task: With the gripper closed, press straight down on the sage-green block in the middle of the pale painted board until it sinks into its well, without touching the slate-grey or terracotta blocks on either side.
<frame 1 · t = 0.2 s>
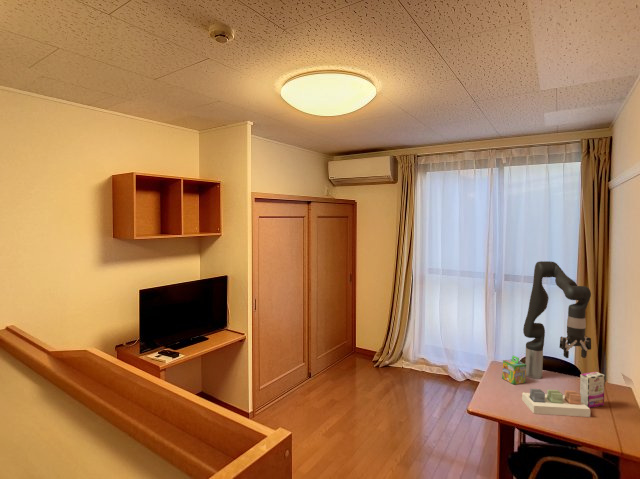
hand: (574, 357, 181), 28 cm above the table, fingers open, 8 cm apart
slate block: (537, 396, 188), point 5 cm above the table, slide at 0.0 cm
candy bar box: (591, 405, 190), on the table
sage block: (554, 397, 187), point 5 cm above the table, slide at 0.0 cm
terracotta block: (572, 398, 186), point 5 cm above the table, slide at 0.0 cm
chalk box: (513, 381, 219), on the table
board: (554, 408, 187), on the table
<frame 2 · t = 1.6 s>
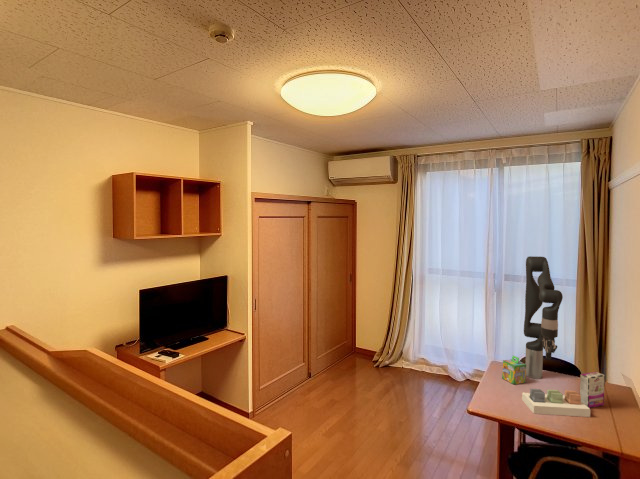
hand: (548, 358, 193), 23 cm above the table, fingers closed
nothing on the table moved.
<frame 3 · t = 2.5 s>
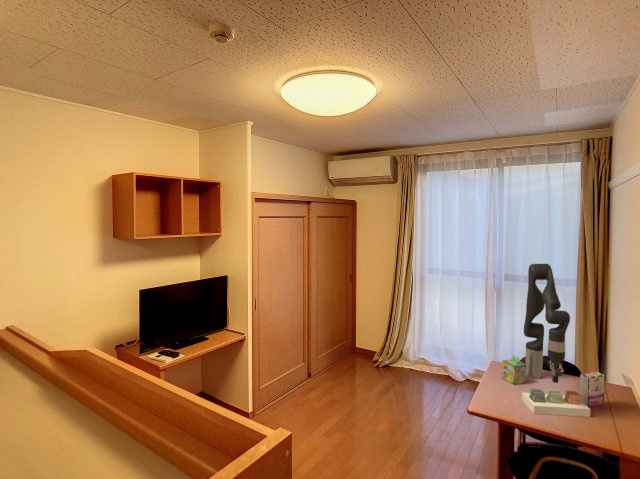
hand: (555, 382, 186), 14 cm above the table, fingers closed
nothing on the table moved.
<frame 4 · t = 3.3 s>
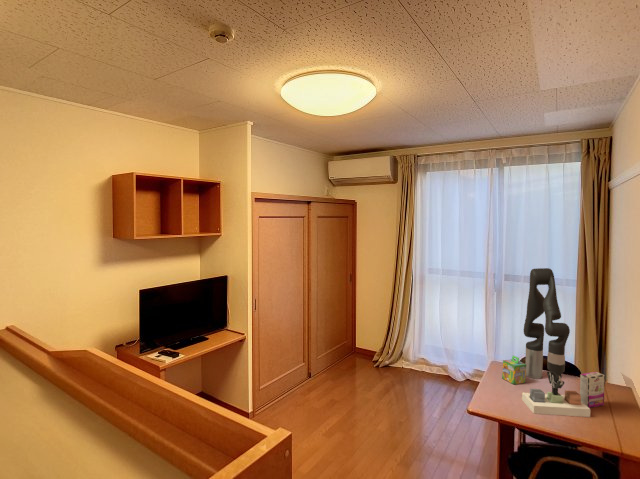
hand: (554, 394, 187), 7 cm above the table, fingers closed
sage block: (554, 399, 187), point 4 cm above the table, slide at 1.2 cm, touching gripper
everything else where it was.
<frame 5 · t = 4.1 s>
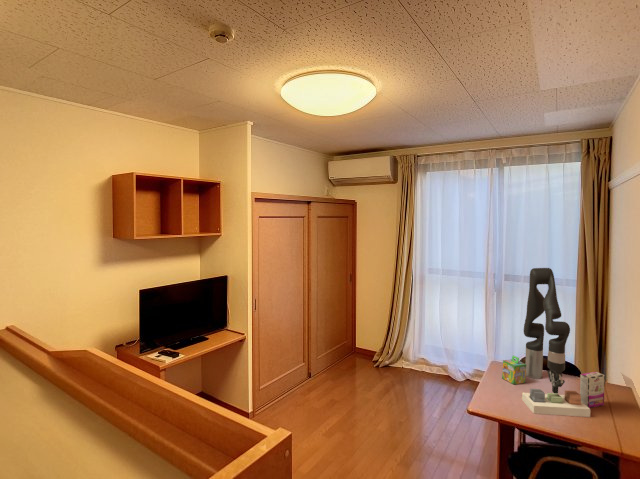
hand: (555, 392, 187), 8 cm above the table, fingers closed
sage block: (554, 401, 187), point 4 cm above the table, slide at 1.8 cm
everything else where it was.
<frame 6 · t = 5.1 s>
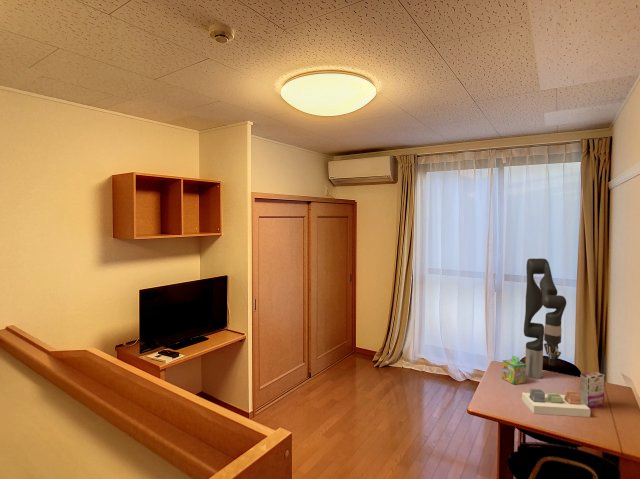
hand: (551, 364, 191), 21 cm above the table, fingers closed
nothing on the table moved.
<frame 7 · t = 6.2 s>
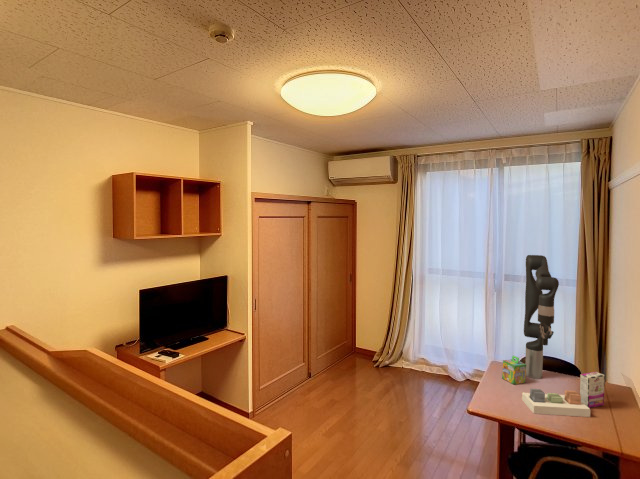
hand: (544, 344, 197), 29 cm above the table, fingers closed
nothing on the table moved.
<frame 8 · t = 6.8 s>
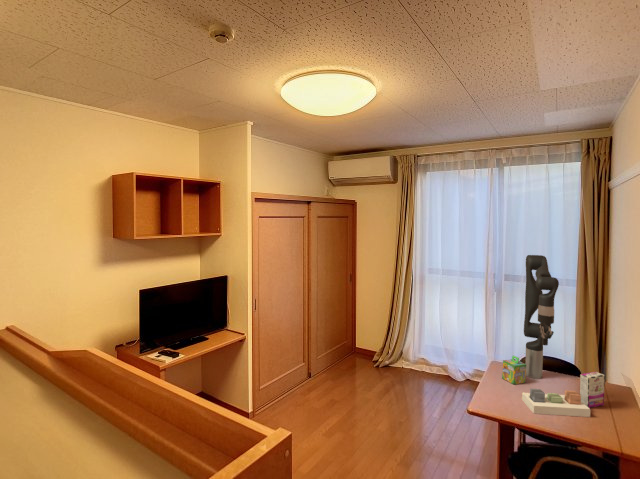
hand: (544, 344, 197), 29 cm above the table, fingers closed
nothing on the table moved.
at the end: sage block slide at 1.8 cm; slate block slide at 0.0 cm; terracotta block slide at 0.0 cm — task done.
